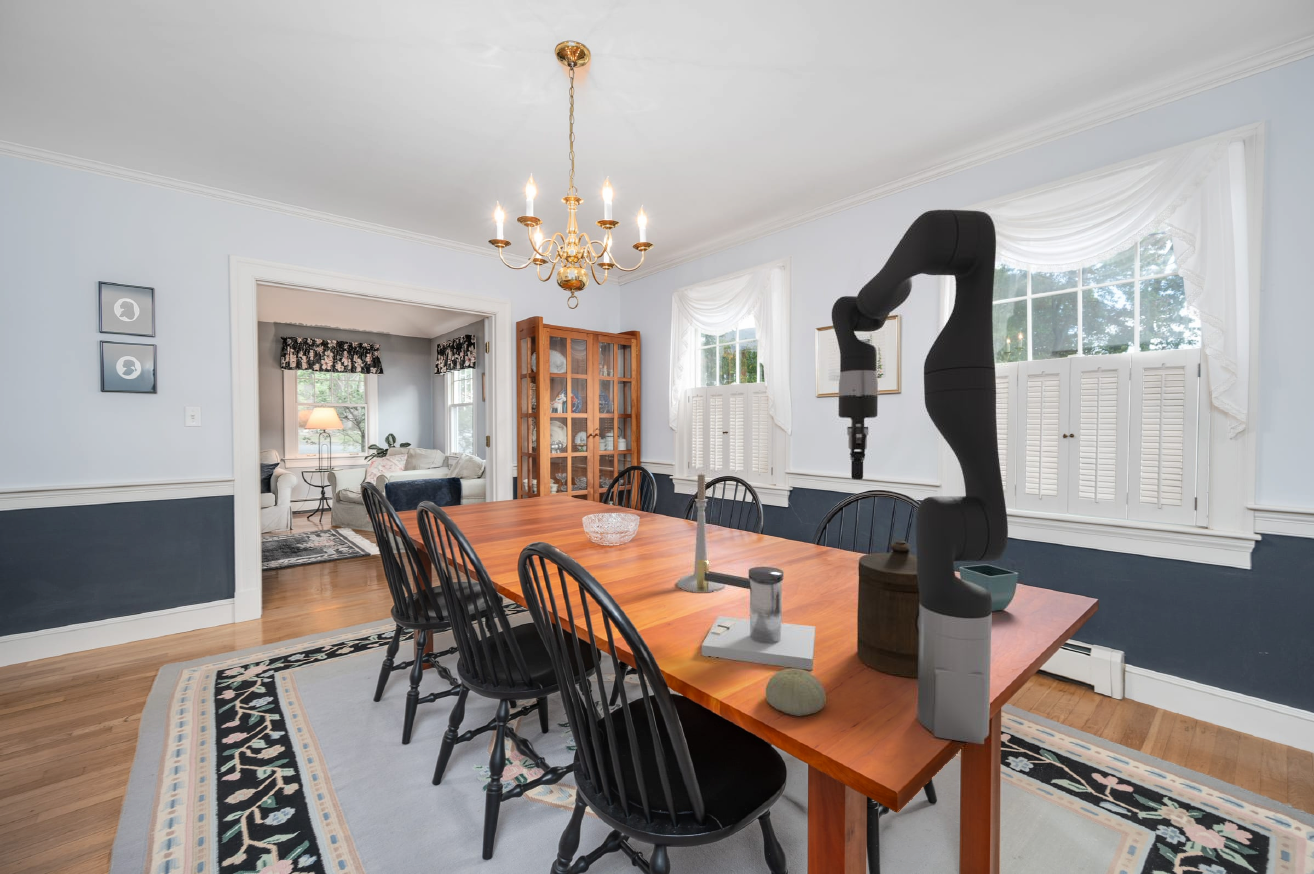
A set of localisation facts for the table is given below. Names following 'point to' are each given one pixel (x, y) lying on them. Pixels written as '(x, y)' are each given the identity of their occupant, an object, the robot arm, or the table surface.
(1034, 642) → the table surface
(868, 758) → the table surface
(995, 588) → the flower pot
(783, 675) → the sea urchin shell
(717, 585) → the candlestick
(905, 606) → the wooden container
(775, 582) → the capstan
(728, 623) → the stand
